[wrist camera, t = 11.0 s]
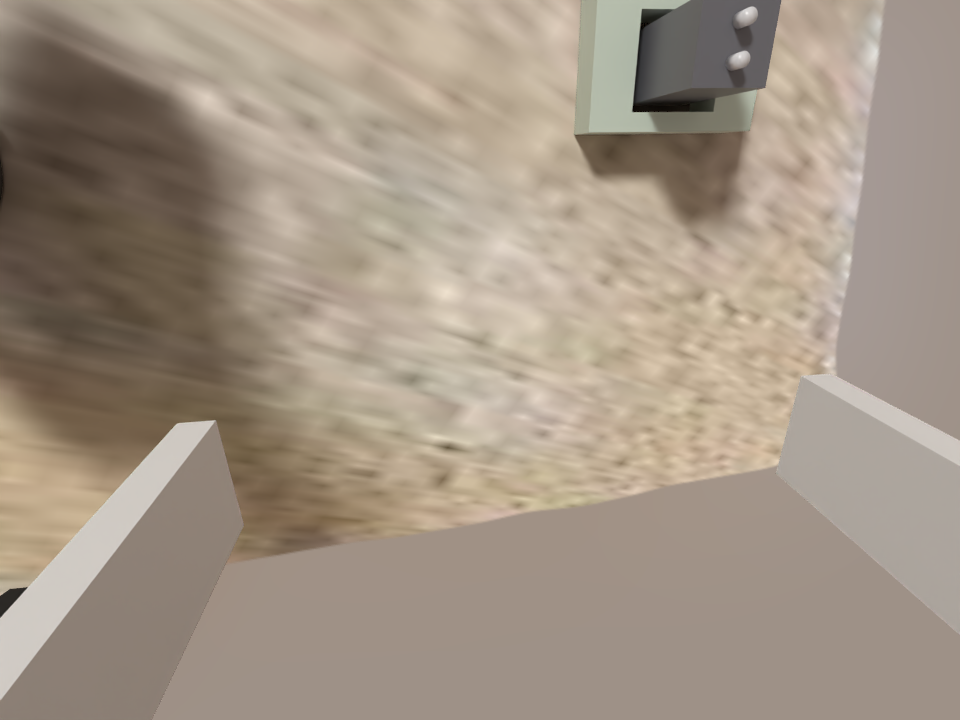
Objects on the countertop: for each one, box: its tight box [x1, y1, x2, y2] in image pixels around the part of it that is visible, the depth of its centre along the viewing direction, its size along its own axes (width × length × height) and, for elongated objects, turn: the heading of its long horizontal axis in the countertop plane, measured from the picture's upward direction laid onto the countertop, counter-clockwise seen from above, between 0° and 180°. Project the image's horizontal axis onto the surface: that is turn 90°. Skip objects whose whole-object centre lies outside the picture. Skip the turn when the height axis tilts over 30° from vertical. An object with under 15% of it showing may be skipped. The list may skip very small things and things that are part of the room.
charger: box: [633, 0, 781, 106], centre depth 31 cm, size 4×4×11 cm
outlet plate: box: [574, 0, 757, 135], centre depth 33 cm, size 12×16×4 cm
